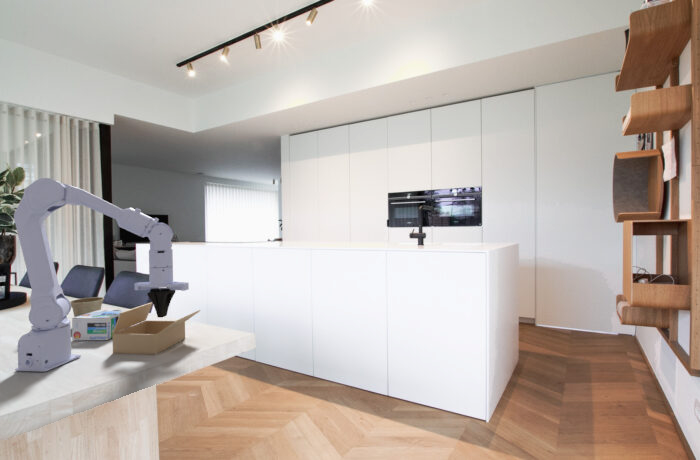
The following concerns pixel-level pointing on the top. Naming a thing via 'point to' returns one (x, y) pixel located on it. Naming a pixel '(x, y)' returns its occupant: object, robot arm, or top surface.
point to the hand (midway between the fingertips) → (162, 316)
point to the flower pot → (86, 305)
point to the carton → (147, 337)
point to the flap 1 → (132, 317)
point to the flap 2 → (178, 322)
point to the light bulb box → (95, 325)
